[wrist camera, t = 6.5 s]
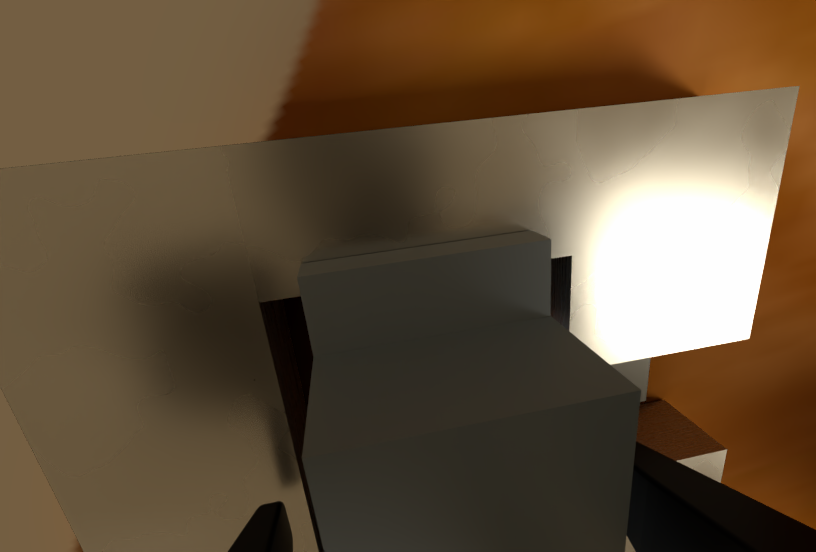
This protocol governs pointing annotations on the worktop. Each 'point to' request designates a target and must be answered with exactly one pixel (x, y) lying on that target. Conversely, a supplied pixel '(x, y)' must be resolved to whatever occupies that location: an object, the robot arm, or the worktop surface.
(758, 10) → the worktop surface
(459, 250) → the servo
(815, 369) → the worktop surface
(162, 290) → the plate
